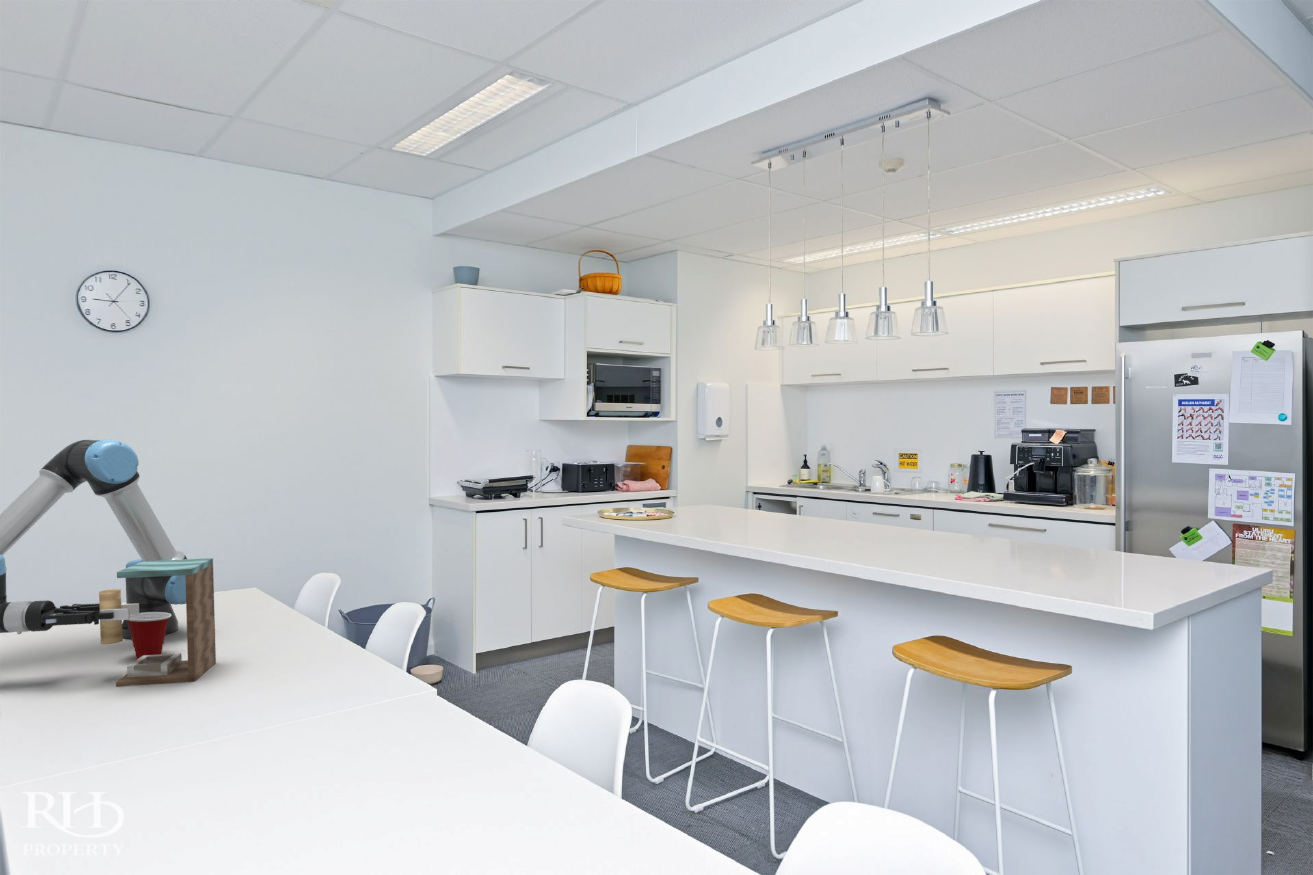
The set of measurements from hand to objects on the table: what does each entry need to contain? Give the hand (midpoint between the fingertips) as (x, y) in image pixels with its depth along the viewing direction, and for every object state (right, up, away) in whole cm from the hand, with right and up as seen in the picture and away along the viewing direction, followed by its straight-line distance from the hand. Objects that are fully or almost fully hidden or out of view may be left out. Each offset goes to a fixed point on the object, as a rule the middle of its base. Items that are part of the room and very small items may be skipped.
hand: (133, 611), depth 207 cm
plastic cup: (-7, -17, +17) cm, 25 cm away
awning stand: (+7, -17, +2) cm, 18 cm away
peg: (-5, -8, -1) cm, 9 cm away
